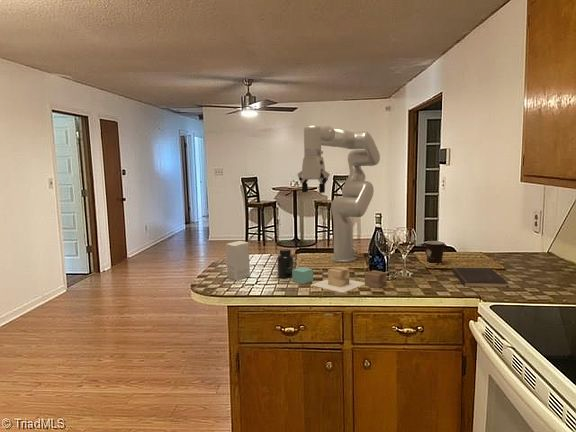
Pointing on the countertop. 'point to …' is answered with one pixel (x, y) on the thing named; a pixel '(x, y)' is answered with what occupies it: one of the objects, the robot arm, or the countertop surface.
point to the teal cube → (302, 275)
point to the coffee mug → (434, 251)
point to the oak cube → (338, 276)
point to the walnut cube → (375, 279)
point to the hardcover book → (479, 277)
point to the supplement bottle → (285, 264)
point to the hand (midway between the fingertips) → (313, 192)
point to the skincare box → (238, 260)
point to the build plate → (342, 289)
